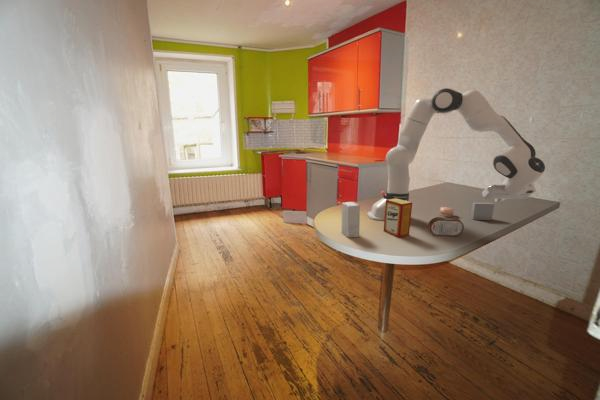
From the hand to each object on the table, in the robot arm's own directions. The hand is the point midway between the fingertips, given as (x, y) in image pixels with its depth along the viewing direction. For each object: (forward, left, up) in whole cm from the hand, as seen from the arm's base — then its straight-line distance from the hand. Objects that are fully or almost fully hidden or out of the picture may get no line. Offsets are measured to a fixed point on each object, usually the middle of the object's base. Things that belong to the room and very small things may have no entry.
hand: (497, 200), depth 142 cm
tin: (-32, -17, -13) cm, 38 cm away
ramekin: (-17, +16, -13) cm, 27 cm away
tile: (-1, +10, -13) cm, 17 cm away
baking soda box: (-54, -16, -13) cm, 57 cm away
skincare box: (-76, -19, -13) cm, 79 cm away
